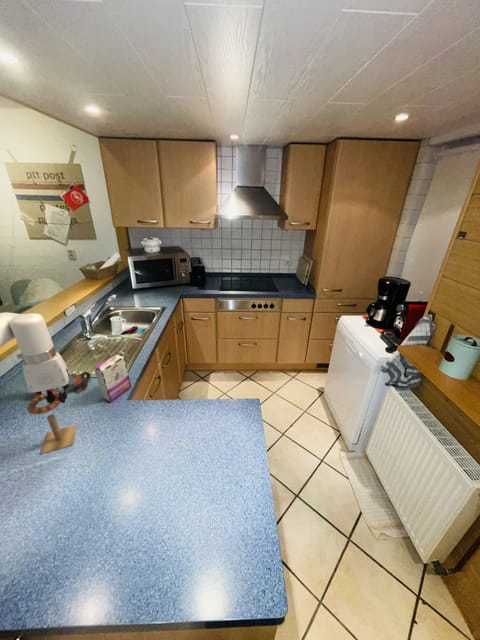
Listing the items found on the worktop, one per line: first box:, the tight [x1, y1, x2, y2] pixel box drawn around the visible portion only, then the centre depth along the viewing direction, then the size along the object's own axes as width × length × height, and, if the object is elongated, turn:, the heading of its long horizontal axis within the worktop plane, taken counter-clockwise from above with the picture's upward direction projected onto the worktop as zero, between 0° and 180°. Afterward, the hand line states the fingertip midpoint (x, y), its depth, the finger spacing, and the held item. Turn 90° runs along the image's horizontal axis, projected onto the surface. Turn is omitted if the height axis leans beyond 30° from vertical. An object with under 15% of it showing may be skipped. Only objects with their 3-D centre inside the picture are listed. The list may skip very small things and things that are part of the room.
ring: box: [26, 391, 62, 415], centre depth 80 cm, size 9×9×2 cm
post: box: [39, 414, 77, 456], centre depth 84 cm, size 9×9×12 cm
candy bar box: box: [93, 354, 132, 403], centre depth 106 cm, size 11×5×16 cm, turn 154°
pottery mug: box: [66, 371, 92, 394], centre depth 111 cm, size 12×10×8 cm
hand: (58, 401), depth 82 cm, fingers closed on ring, 2 cm apart
